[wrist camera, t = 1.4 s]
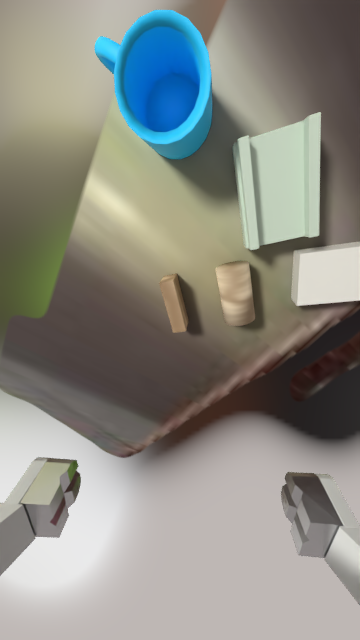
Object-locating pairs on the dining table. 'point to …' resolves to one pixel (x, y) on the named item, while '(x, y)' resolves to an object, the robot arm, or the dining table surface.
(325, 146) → the dining table surface
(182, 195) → the dining table surface
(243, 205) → the cradle
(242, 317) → the roller
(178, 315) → the wooden brick
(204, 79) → the mug
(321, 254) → the slab
